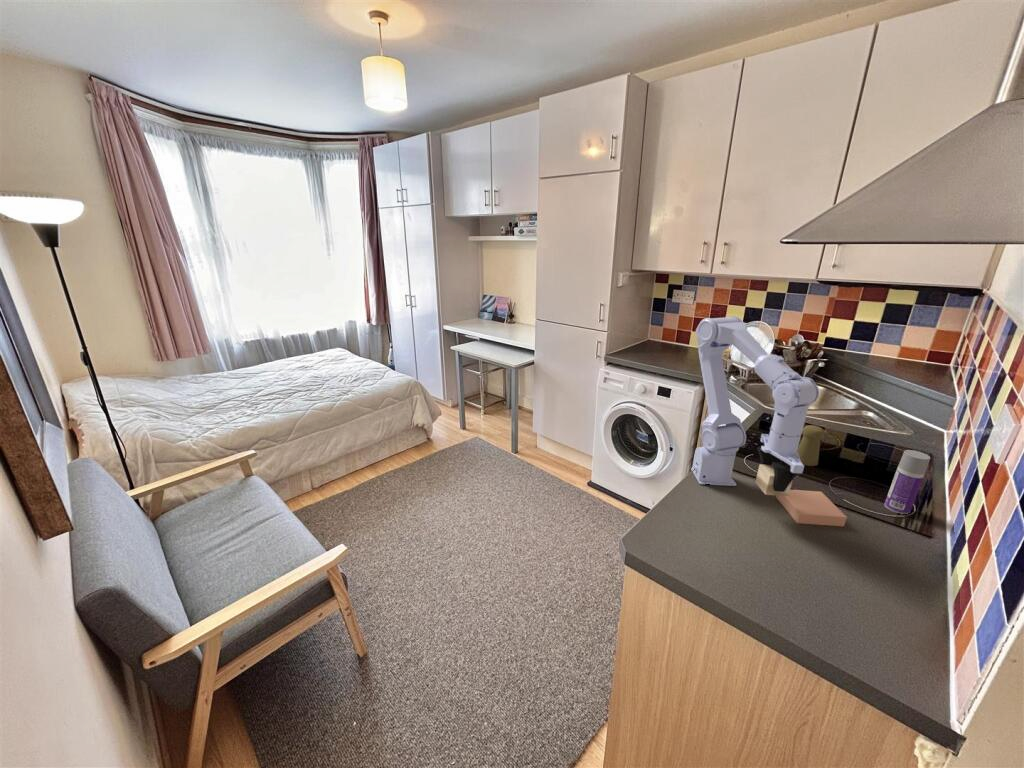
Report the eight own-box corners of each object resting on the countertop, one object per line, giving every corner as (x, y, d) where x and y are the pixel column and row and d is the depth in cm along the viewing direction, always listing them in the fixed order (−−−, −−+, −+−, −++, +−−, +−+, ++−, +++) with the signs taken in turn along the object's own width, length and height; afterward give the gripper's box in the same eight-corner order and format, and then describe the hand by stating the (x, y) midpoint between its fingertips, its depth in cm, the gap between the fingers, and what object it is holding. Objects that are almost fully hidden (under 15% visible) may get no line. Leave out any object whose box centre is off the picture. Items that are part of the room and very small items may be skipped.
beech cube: (765, 494, 93) (770, 475, 92) (755, 482, 98) (759, 464, 96) (788, 495, 93) (793, 477, 91) (777, 483, 98) (781, 465, 96)
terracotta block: (796, 524, 95) (799, 513, 94) (776, 498, 104) (778, 488, 103) (843, 528, 94) (847, 517, 93) (818, 501, 103) (821, 491, 102)
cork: (810, 456, 124) (819, 423, 120) (822, 466, 118) (832, 432, 114) (789, 455, 124) (797, 422, 120) (800, 465, 118) (809, 431, 115)
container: (915, 514, 97) (937, 459, 92) (895, 514, 97) (916, 459, 92) (897, 502, 102) (917, 449, 97) (878, 502, 102) (898, 449, 97)
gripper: (752, 416, 98) (741, 466, 102) (784, 445, 84) (770, 501, 89) (783, 418, 97) (771, 467, 102) (820, 447, 83) (804, 503, 88)
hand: (772, 483), depth 95 cm, fingers closed on beech cube, 5 cm apart
